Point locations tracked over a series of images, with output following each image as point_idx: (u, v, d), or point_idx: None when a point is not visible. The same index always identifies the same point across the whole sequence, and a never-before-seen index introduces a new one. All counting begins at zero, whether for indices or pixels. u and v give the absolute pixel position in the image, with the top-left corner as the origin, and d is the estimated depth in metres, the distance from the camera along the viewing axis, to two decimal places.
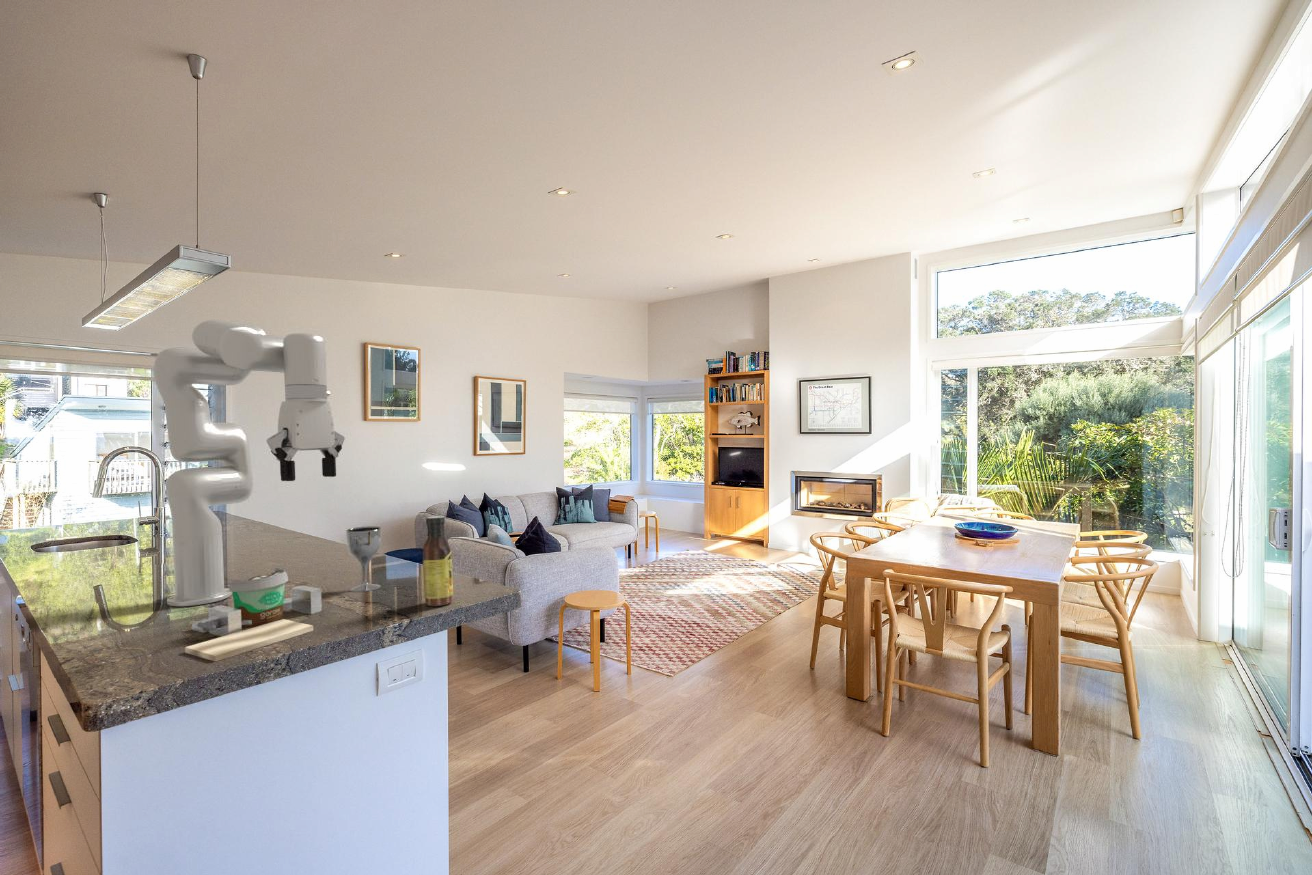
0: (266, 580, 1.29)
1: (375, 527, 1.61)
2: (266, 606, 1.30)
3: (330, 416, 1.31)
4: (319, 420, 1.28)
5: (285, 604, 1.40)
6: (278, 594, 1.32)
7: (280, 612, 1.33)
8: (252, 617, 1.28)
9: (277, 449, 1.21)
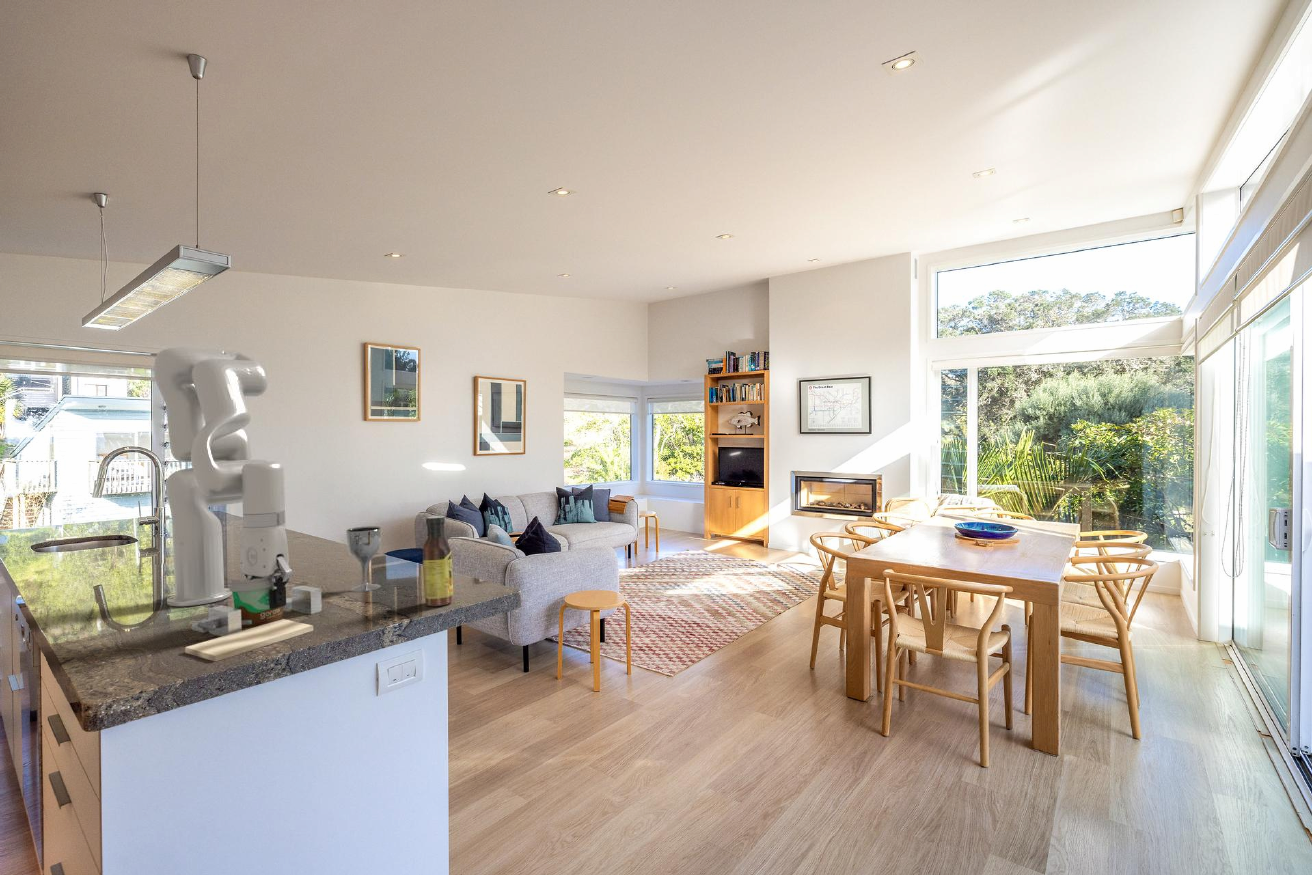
0: (266, 580, 1.29)
1: (375, 527, 1.61)
2: (266, 606, 1.30)
3: None
4: None
5: None
6: None
7: (280, 612, 1.33)
8: (252, 617, 1.28)
9: None
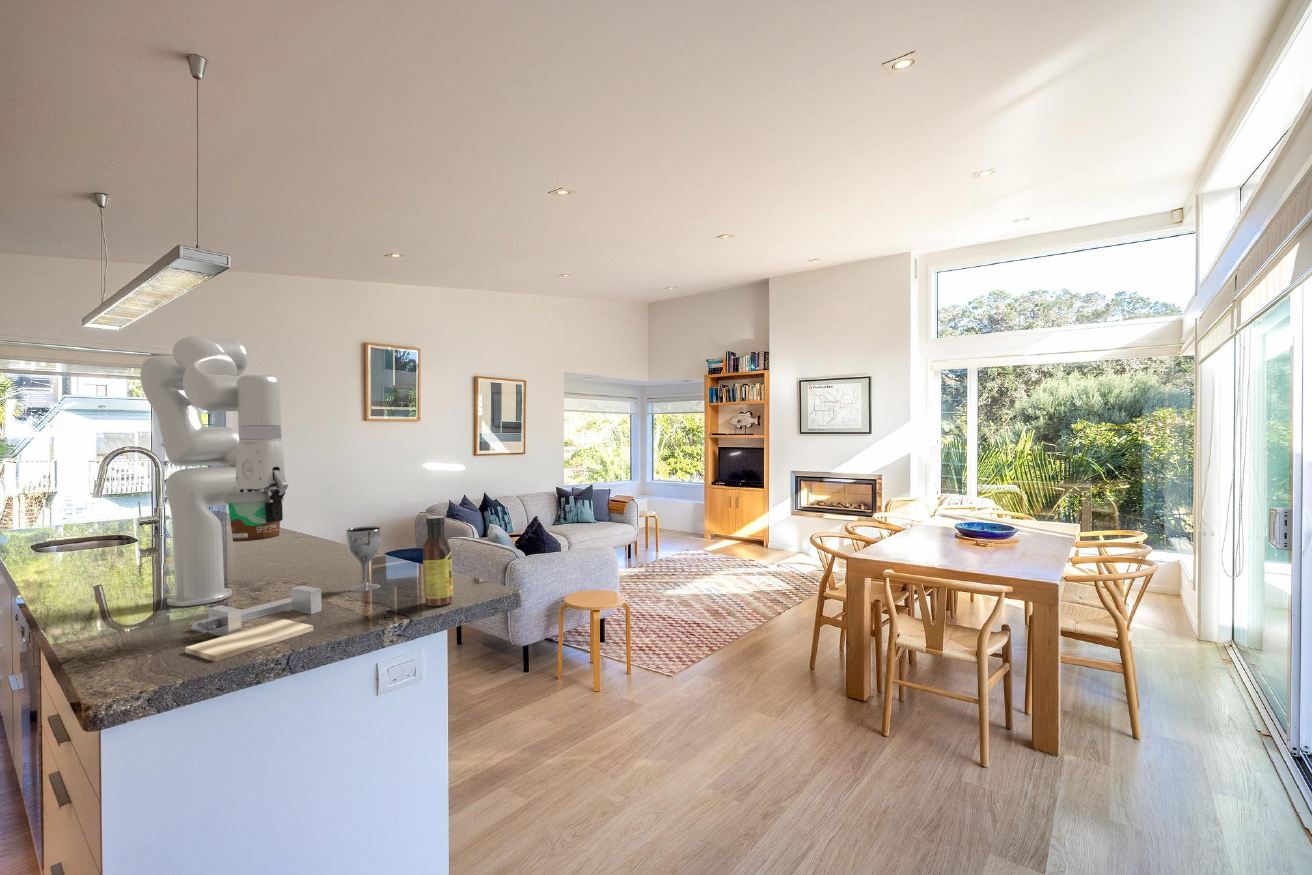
0: (262, 493, 1.27)
1: (375, 527, 1.61)
2: (262, 521, 1.28)
3: None
4: None
5: (285, 604, 1.40)
6: None
7: (277, 528, 1.31)
8: (248, 530, 1.26)
9: None
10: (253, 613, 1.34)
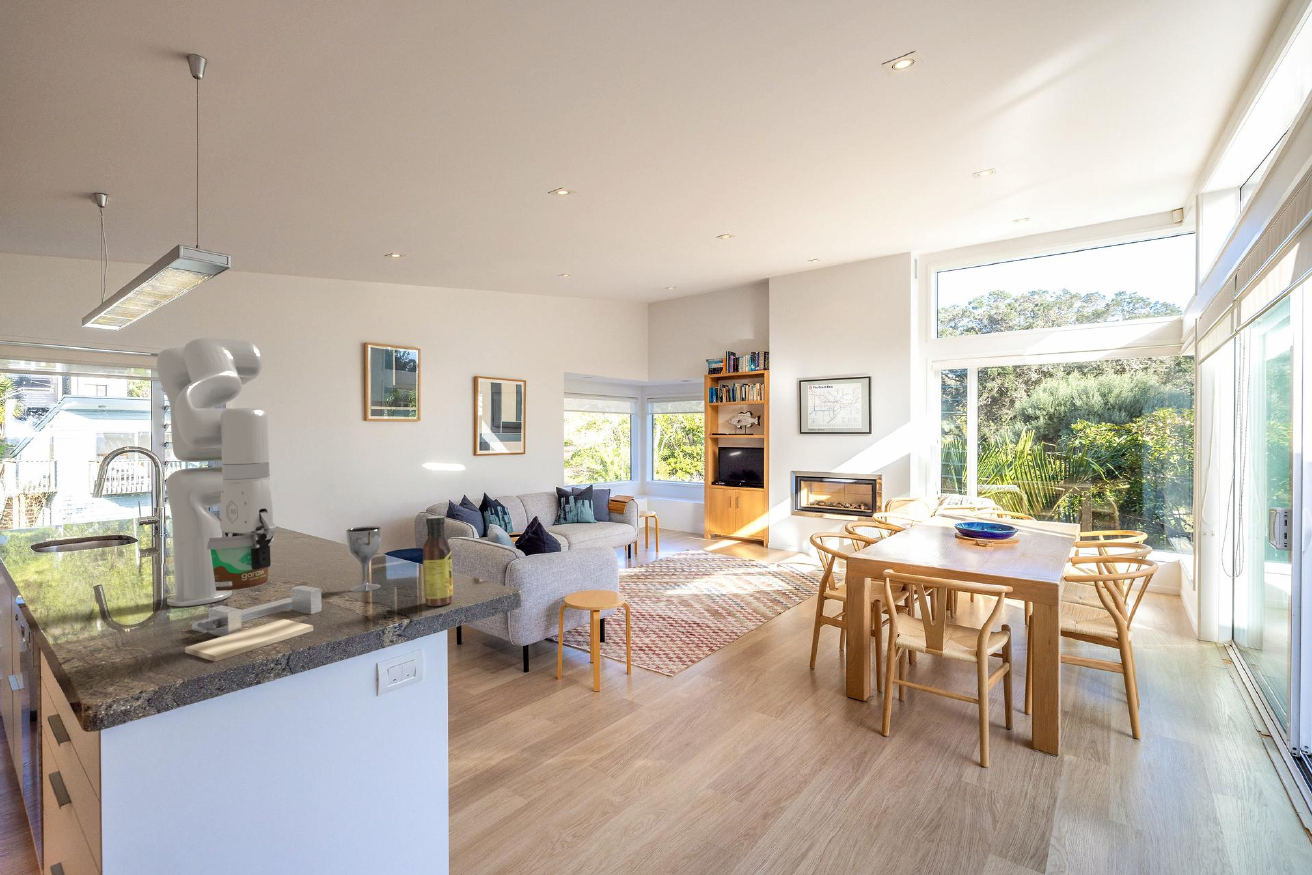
0: (248, 537, 1.17)
1: (375, 527, 1.61)
2: (248, 567, 1.17)
3: None
4: None
5: (285, 604, 1.40)
6: None
7: (264, 574, 1.20)
8: (233, 578, 1.16)
9: None
10: (253, 613, 1.34)
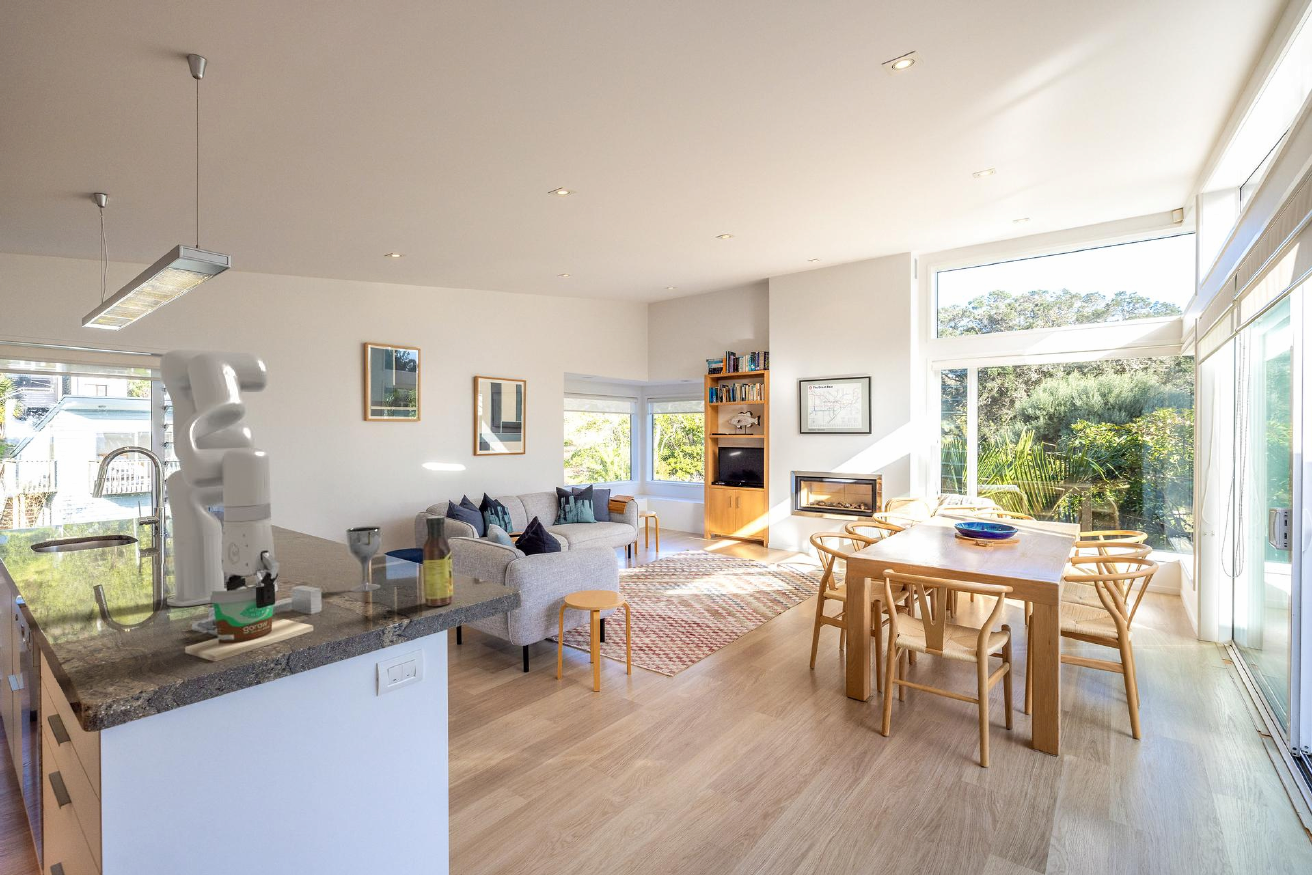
0: (250, 591, 1.17)
1: (375, 527, 1.61)
2: (250, 620, 1.17)
3: None
4: None
5: (285, 604, 1.40)
6: None
7: (267, 626, 1.20)
8: (234, 631, 1.16)
9: (276, 573, 1.17)
10: None
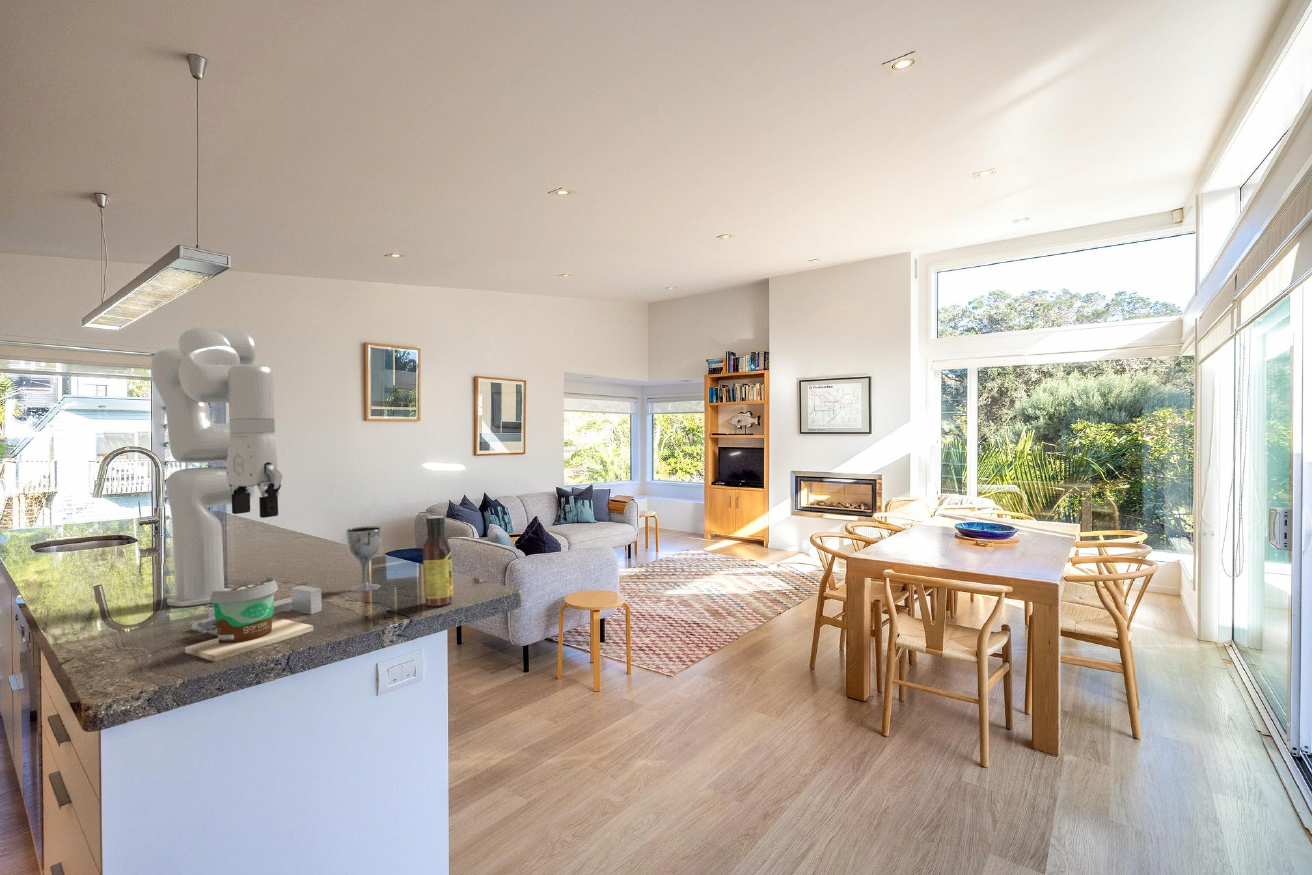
0: (250, 591, 1.17)
1: (375, 527, 1.61)
2: (250, 620, 1.17)
3: None
4: None
5: (285, 604, 1.40)
6: (264, 606, 1.19)
7: (267, 626, 1.20)
8: (234, 631, 1.16)
9: (279, 484, 1.20)
10: None
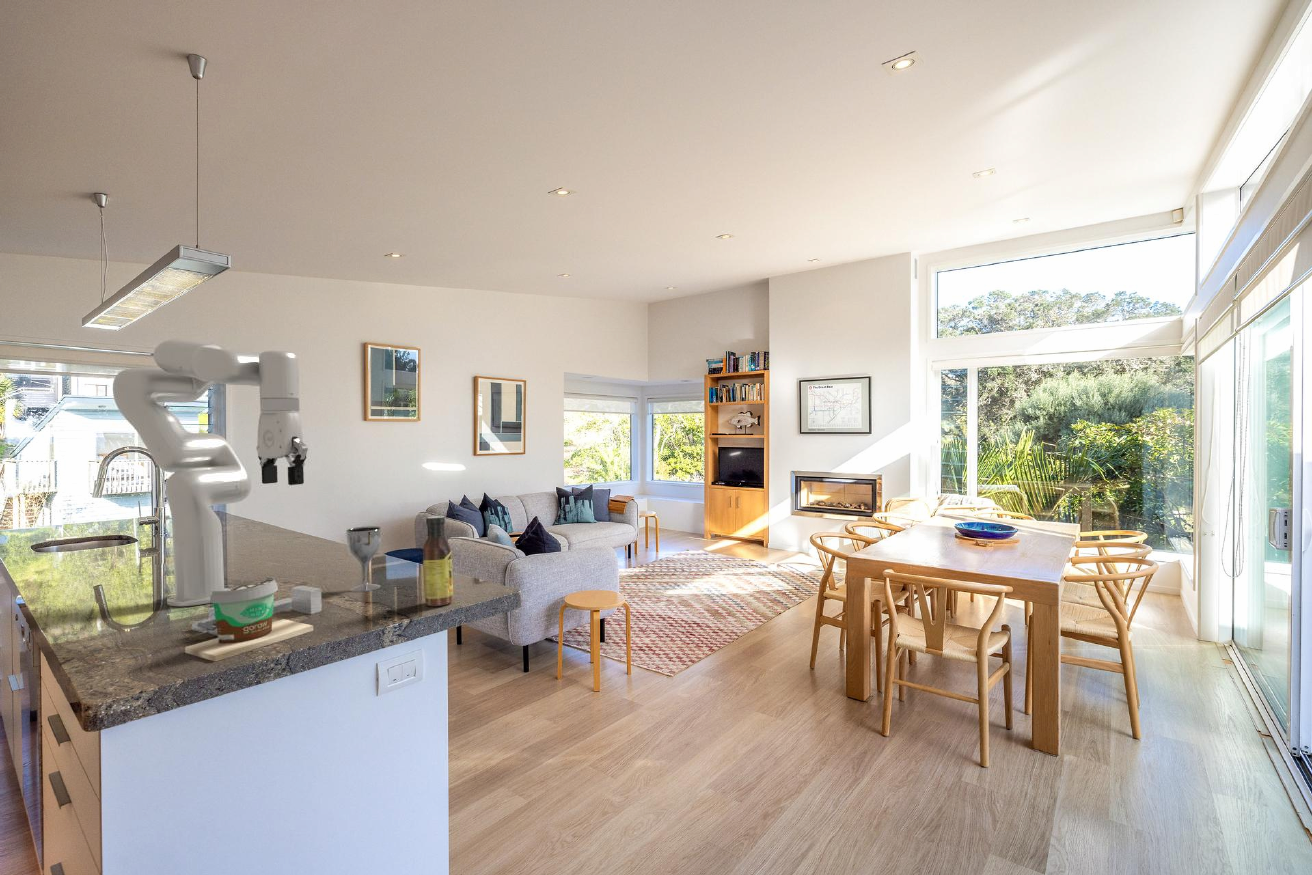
0: (250, 591, 1.17)
1: (375, 527, 1.61)
2: (250, 620, 1.17)
3: None
4: None
5: (285, 604, 1.40)
6: (264, 606, 1.19)
7: (267, 626, 1.20)
8: (234, 631, 1.16)
9: (305, 455, 1.37)
10: None
